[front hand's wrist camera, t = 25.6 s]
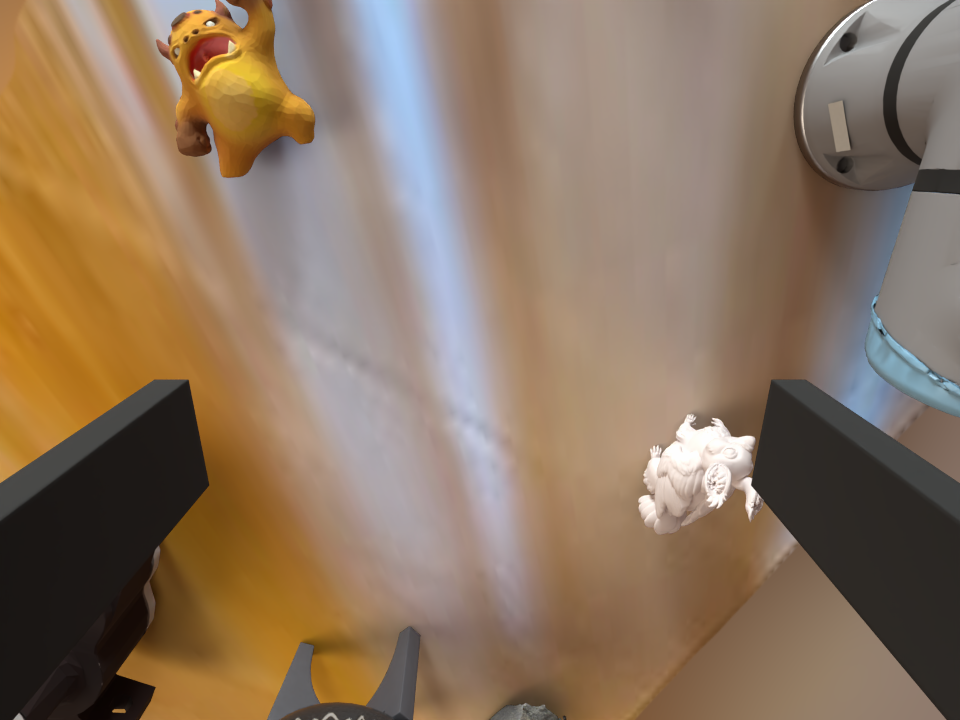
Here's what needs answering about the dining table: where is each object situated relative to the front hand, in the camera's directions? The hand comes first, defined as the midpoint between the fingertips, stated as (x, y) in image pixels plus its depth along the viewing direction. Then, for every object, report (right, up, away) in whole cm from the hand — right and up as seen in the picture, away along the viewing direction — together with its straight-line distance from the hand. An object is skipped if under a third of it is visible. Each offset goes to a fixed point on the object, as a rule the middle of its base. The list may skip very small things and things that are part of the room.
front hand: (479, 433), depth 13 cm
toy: (-20, +25, +34) cm, 47 cm away
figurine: (+21, -9, +47) cm, 52 cm away
